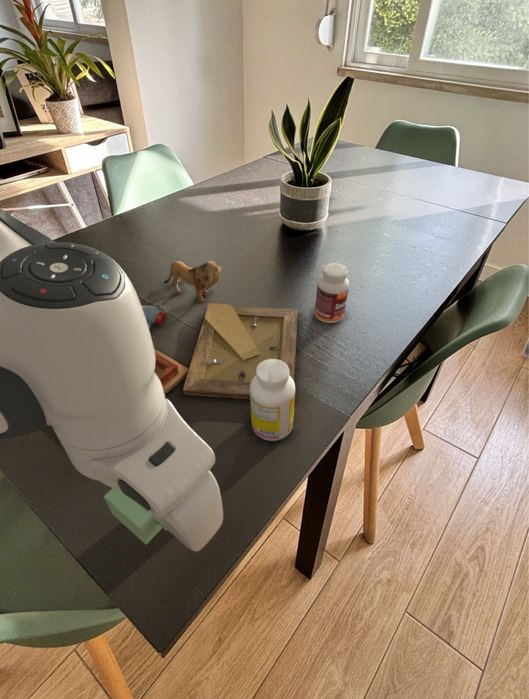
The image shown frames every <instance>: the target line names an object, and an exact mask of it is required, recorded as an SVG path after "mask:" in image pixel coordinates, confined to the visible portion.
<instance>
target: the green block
mask: <svg viewBox="0 0 529 699" xmlns="http://www.w3.org/2000/svg"><path fill="white" fill-rule="evenodd" d="M103 498H104V500H105V502H106V505H107V506H108V508H109V511H110V512H111V514H112V515H113V516H114V517H115V518H116V519H117V520H118V521H120V523H121V524H122V525H124V527H126V528H127V529H128V530H129V531H130V532H131V533H133V535H135V537H137V538H138V539H139V540H140V542H142V543H144V545H145V546H146V545H148V544H149V543H150V541H151V540H152V539H154V538H155V536H156V535H158V533H159V532H160V531H161V530H162V529H163V528H162V527H161V526H160V525H159V524H158V523H157V522H156V520H155V519H154V518H153V517H152V516H151V515H150V514H148V513H147V512H146V511H145V510H144V509H143V508H142V507H140V506H139V505H138V504H137V503H136V502H135V501H133V500H132V499H131V498H129V497H128V496H126V495H125V494H124V493H122V492H120V491H118V490H116V489H114V488H111V489H110V490H109V491H108V492H106V493H105V495H104V496H103Z"/></svg>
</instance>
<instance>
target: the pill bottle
mask: <svg viewBox="0 0 529 699" xmlns="http://www.w3.org/2000/svg"><path fill="white" fill-rule="evenodd" d="M348 273H349V272H348V268H347V267H346V266H345V265H344V264H340V263H333V262H332V263H327V264H326V265H324V266H323V269H322V274H321V276H319V278H318V280H317V285H316V294H315V302H314V303H315V304H314V316H315V317H316V319H317V320H319V321H321V322H322V323H326V324H335V323H336V324H337V323H339V322H340V321H341V320H343V319H344V316H345V312H346V307H347V300H348V295H349V289H350V280H349V279H348V278H347V277H348Z"/></svg>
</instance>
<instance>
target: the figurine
mask: <svg viewBox="0 0 529 699" xmlns="http://www.w3.org/2000/svg"><path fill="white" fill-rule="evenodd" d="M141 306H142V309H143V312H144V315H145V318H146V321H147V324H148V328H149V329H150V328H151V326H152V324H158V325H160V326H162V325H163V324H164V322H165V320H166V318H167V314H166V313H164V312H162V311H161V310H160V309H159V307H157V306H154V305H141Z"/></svg>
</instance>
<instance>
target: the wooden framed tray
mask: <svg viewBox="0 0 529 699" xmlns="http://www.w3.org/2000/svg"><path fill="white" fill-rule="evenodd" d="M154 351H155V357H156V361H155V370H154V372H155V374H156V375H157V376H158V378H159V380H160V382H161V384H162V387H163V391H164V395H165V396H166V395H167V394H168V393H169V392H170V391H171V390H173V388H175V387H176V386H177V385H178V384H179V383H181V382H182V381H183V380H185V379H186V378H187V375H188V371H189V368H188V367H186V366H184V365H182V364H180V363H179V362H178V361H177V360H174V359H173V358H171V357H169V356H167V355H166V354H164V353H163V352H161V351H159V350H157V349H156V348H154Z"/></svg>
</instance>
